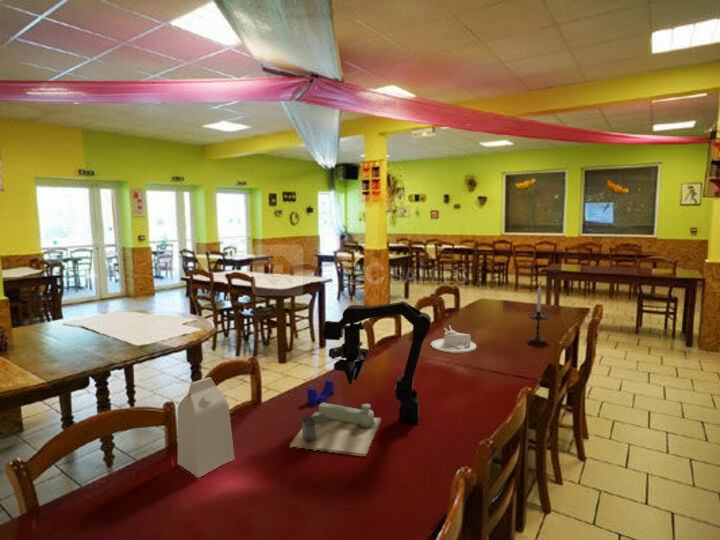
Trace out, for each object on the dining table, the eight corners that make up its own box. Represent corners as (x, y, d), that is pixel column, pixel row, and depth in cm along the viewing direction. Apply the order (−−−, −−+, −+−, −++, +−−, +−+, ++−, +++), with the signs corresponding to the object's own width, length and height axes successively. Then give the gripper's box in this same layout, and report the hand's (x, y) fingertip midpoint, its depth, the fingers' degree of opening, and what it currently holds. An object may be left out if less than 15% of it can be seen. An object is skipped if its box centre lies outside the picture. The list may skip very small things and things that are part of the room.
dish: (428, 351, 235) (428, 331, 234) (434, 339, 259) (434, 320, 258) (475, 355, 228) (475, 334, 227) (476, 342, 252) (477, 323, 250)
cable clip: (316, 406, 170) (315, 391, 169) (307, 403, 173) (307, 388, 172) (336, 395, 179) (336, 381, 178) (328, 393, 182) (327, 379, 181)
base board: (380, 420, 156) (380, 417, 156) (365, 456, 133) (365, 453, 133) (315, 414, 163) (315, 410, 162) (289, 447, 139) (289, 443, 139)
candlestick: (549, 339, 254) (551, 280, 249) (545, 344, 245) (548, 282, 240) (529, 336, 260) (531, 278, 255) (525, 341, 250) (527, 281, 246)
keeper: (324, 432, 147) (323, 413, 146) (328, 437, 143) (327, 418, 142) (302, 437, 144) (302, 418, 143) (306, 442, 140) (306, 423, 139)
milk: (213, 448, 139) (208, 370, 136) (234, 461, 132) (230, 378, 129) (177, 465, 130) (171, 382, 127) (198, 479, 123) (192, 391, 120)
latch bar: (376, 421, 153) (375, 403, 152) (370, 428, 148) (370, 410, 147) (324, 411, 161) (324, 394, 160) (317, 417, 156) (317, 400, 156)
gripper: (343, 331, 169) (344, 370, 171) (320, 345, 152) (321, 387, 154) (370, 334, 164) (370, 374, 166) (348, 348, 148) (349, 392, 149)
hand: (352, 381), depth 159 cm, fingers open, 4 cm apart
